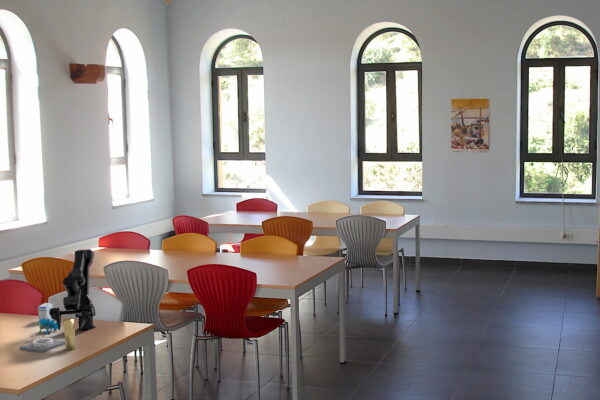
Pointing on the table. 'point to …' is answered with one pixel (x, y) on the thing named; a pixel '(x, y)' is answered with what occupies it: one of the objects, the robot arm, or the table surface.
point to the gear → (47, 325)
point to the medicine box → (45, 311)
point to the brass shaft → (69, 334)
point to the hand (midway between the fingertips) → (69, 328)
